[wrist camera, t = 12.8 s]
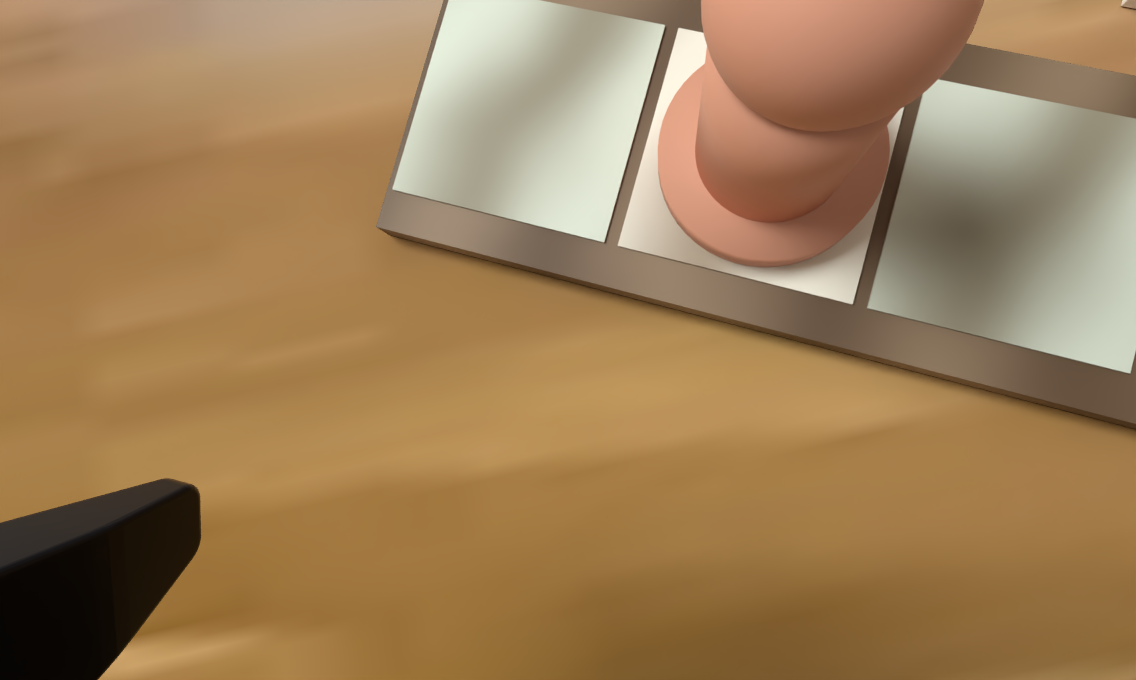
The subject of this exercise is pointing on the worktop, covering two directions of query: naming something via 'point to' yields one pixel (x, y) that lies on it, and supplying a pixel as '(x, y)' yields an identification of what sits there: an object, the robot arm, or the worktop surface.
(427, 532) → the worktop surface
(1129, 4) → the die
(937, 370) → the board
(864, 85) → the pawn
